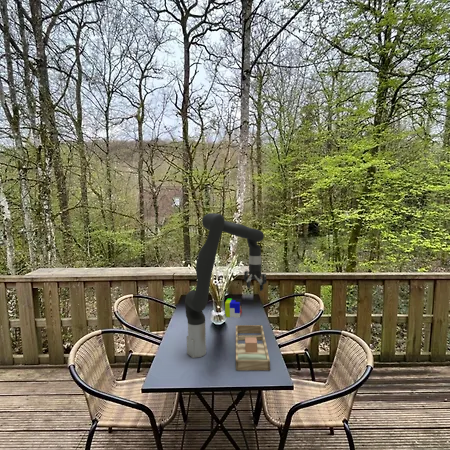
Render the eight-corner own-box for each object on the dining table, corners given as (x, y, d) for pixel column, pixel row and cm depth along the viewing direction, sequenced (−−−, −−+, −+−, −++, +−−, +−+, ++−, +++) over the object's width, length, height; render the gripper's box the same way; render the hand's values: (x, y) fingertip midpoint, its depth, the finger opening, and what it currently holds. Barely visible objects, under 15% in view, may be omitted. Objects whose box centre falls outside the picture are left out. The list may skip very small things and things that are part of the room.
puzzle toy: (239, 318, 202) (239, 303, 201) (225, 317, 204) (224, 303, 203) (241, 312, 211) (241, 298, 210) (227, 311, 213) (227, 298, 212)
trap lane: (269, 370, 139) (269, 361, 139) (236, 370, 140) (235, 361, 139) (262, 332, 179) (262, 325, 178) (235, 332, 179) (235, 325, 179)
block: (257, 352, 152) (257, 342, 151) (245, 352, 152) (245, 342, 152) (256, 346, 158) (256, 337, 157) (245, 346, 158) (245, 337, 158)
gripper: (241, 262, 178) (241, 288, 179) (262, 265, 169) (262, 293, 170) (248, 260, 184) (248, 286, 185) (268, 263, 175) (268, 289, 176)
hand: (255, 289), depth 178 cm, fingers open, 8 cm apart
